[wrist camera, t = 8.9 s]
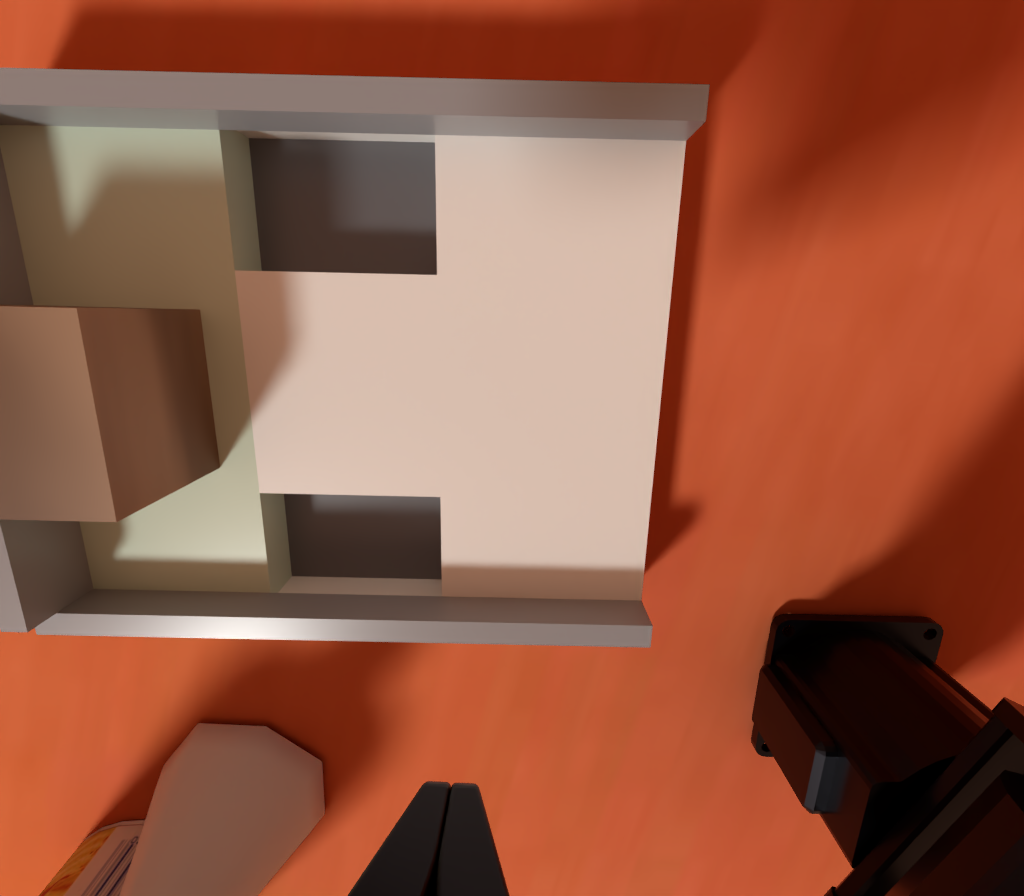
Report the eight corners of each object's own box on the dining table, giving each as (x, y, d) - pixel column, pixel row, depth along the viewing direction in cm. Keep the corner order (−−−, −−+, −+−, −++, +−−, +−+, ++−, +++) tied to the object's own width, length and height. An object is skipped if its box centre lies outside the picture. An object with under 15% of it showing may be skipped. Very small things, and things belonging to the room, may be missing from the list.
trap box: (668, 133, 16) (726, 65, 12) (627, 590, 20) (658, 668, 16) (26, 117, 16) (-157, 44, 12) (117, 580, 20) (7, 654, 16)
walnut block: (200, 309, 15) (76, 308, 11) (220, 467, 17) (116, 522, 12) (34, 304, 15) (-155, 302, 11) (67, 463, 17) (-91, 517, 12)
